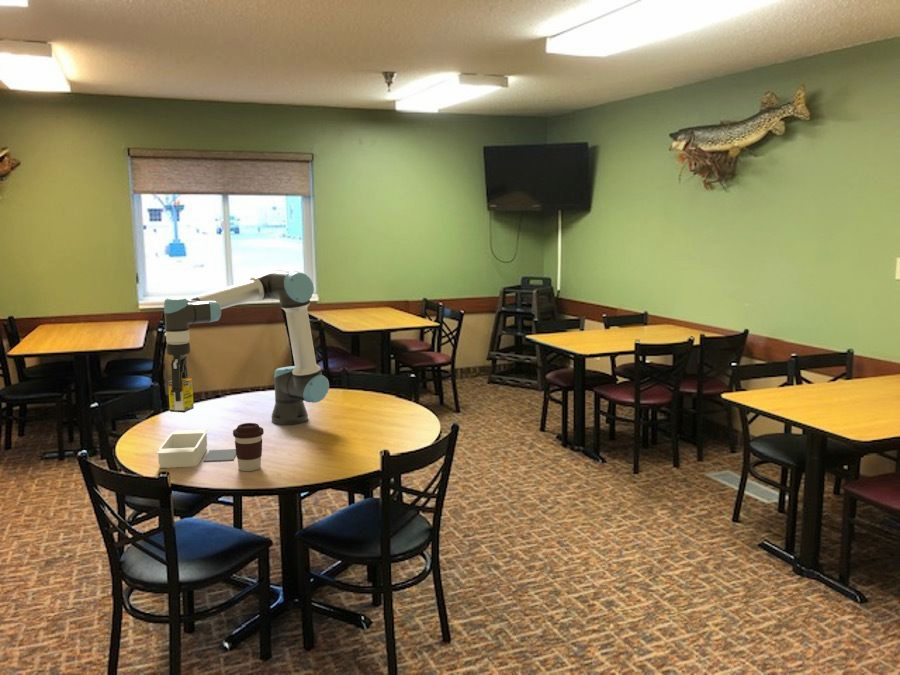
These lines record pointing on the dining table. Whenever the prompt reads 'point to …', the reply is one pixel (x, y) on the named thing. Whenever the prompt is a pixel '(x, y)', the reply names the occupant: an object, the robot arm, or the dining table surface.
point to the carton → (183, 449)
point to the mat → (220, 455)
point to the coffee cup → (248, 446)
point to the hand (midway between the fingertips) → (181, 406)
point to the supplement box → (187, 396)
